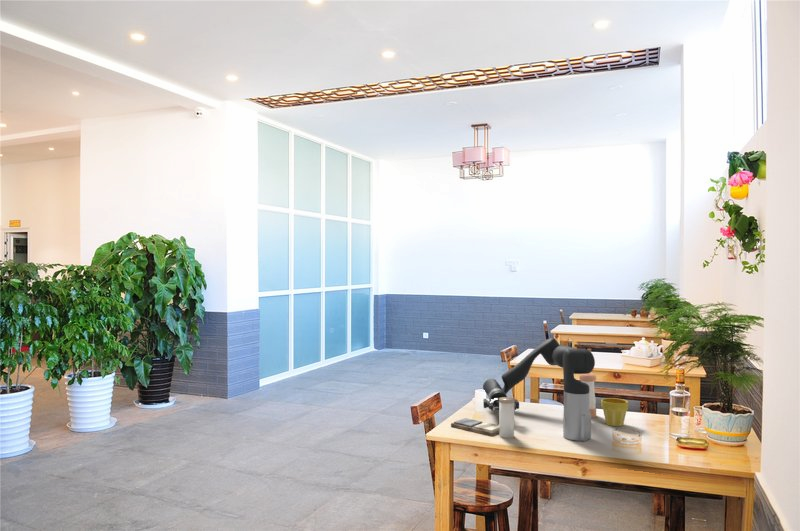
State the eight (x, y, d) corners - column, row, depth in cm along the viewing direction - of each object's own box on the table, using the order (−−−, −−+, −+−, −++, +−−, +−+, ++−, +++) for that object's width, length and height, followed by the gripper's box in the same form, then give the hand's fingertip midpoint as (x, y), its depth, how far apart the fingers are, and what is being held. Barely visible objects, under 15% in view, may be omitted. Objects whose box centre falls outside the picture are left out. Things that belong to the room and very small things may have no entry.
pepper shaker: (594, 413, 254) (594, 369, 254) (598, 418, 247) (598, 373, 247) (577, 413, 255) (577, 369, 255) (580, 417, 247) (580, 372, 247)
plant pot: (601, 420, 244) (601, 396, 244) (627, 422, 240) (627, 398, 240) (601, 426, 234) (601, 402, 234) (628, 429, 230) (628, 404, 230)
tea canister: (517, 435, 220) (517, 398, 220) (509, 439, 216) (509, 401, 216) (503, 432, 224) (504, 396, 224) (495, 436, 220) (496, 399, 219)
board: (505, 430, 227) (505, 425, 227) (491, 436, 219) (491, 431, 219) (465, 421, 239) (465, 417, 239) (450, 426, 232) (451, 422, 232)
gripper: (514, 407, 246) (521, 418, 230) (481, 407, 247) (484, 417, 230) (515, 390, 246) (521, 399, 230) (481, 389, 247) (485, 398, 230)
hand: (503, 408), depth 230 cm, fingers open, 8 cm apart
